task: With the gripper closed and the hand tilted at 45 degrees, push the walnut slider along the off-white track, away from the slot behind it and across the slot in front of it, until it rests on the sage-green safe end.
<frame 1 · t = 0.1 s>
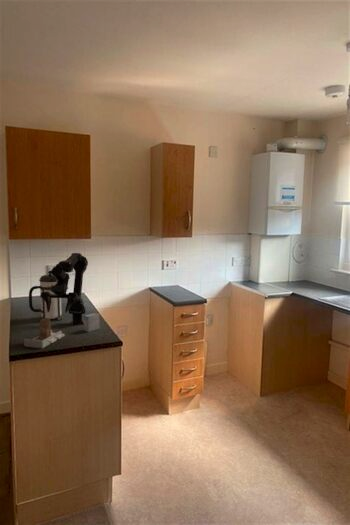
hand: (56, 312, 192), 15 cm above the countertop, tool tilted 35°, fingers open, 9 cm apart
slider: (44, 329, 193), point 6 cm above the countertop, slide at 0.0 cm
medicine box: (91, 330, 213), on the countertop
track: (45, 340, 194), on the countertop
coffee press: (49, 319, 233), on the countertop
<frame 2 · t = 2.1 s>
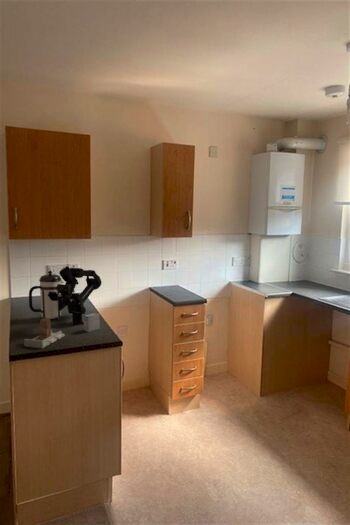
hand: (59, 310, 205), 13 cm above the countertop, tool tilted 45°, fingers closed
nothing on the countertop moved.
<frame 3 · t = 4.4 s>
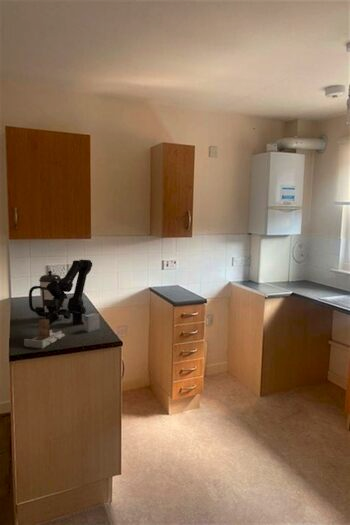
hand: (46, 327, 194), 7 cm above the countertop, tool tilted 45°, fingers closed, pressing on slider
slider: (43, 329, 192), point 6 cm above the countertop, slide at 1.0 cm, touching gripper
everything else where it was.
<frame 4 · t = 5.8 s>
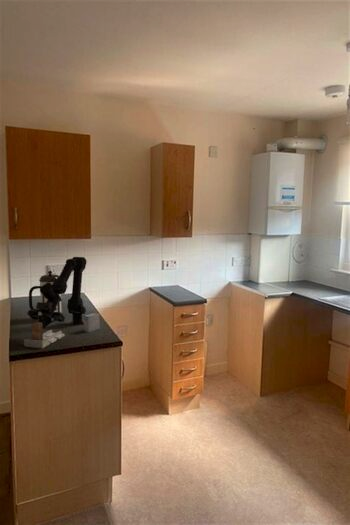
hand: (39, 330, 189), 7 cm above the countertop, tool tilted 45°, fingers closed, pressing on slider
slider: (36, 333, 186), point 6 cm above the countertop, slide at 6.8 cm, touching gripper
everything else where it was.
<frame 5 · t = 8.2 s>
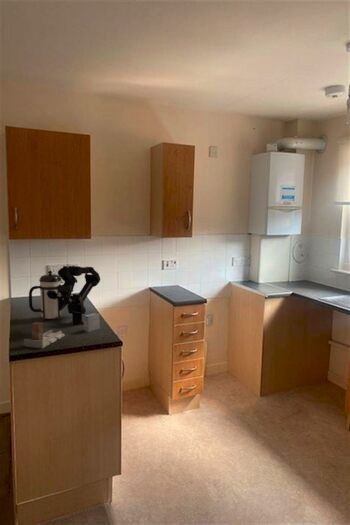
hand: (59, 310, 205), 12 cm above the countertop, tool tilted 40°, fingers closed
slider: (36, 333, 186), point 6 cm above the countertop, slide at 6.8 cm
everything else where it was.
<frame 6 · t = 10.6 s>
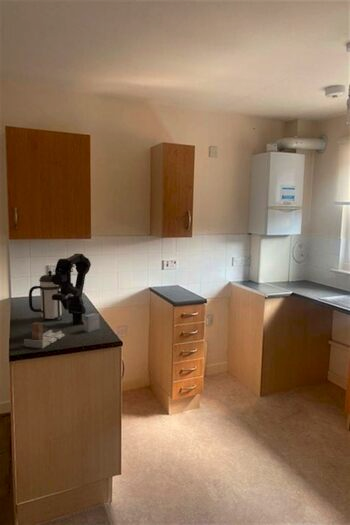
hand: (66, 309, 209), 12 cm above the countertop, tool pointing down, fingers closed
nothing on the countertop moved.
at the end: slider slide at 6.8 cm; medicine box moved 0.3 cm from its start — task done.
